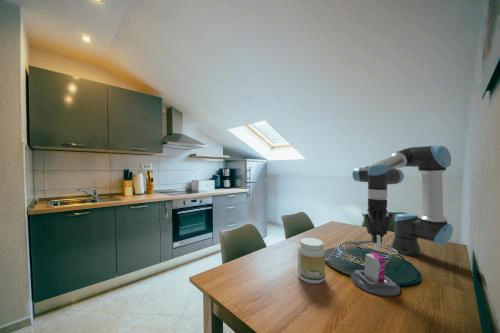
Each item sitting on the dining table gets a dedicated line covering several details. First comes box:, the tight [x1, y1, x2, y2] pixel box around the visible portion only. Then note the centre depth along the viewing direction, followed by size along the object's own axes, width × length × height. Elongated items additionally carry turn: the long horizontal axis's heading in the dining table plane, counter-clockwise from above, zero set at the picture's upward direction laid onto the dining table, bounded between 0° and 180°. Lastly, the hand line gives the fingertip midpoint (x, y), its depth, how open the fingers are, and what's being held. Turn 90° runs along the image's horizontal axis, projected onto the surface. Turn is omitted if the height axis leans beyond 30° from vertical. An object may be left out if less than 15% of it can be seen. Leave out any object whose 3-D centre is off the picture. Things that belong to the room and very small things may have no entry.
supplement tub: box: [297, 237, 326, 284], centre depth 97 cm, size 12×12×17 cm
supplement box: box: [364, 252, 386, 282], centre depth 93 cm, size 6×6×12 cm
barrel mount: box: [350, 269, 401, 298], centre depth 93 cm, size 19×19×3 cm
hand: (377, 249), depth 94 cm, fingers closed
